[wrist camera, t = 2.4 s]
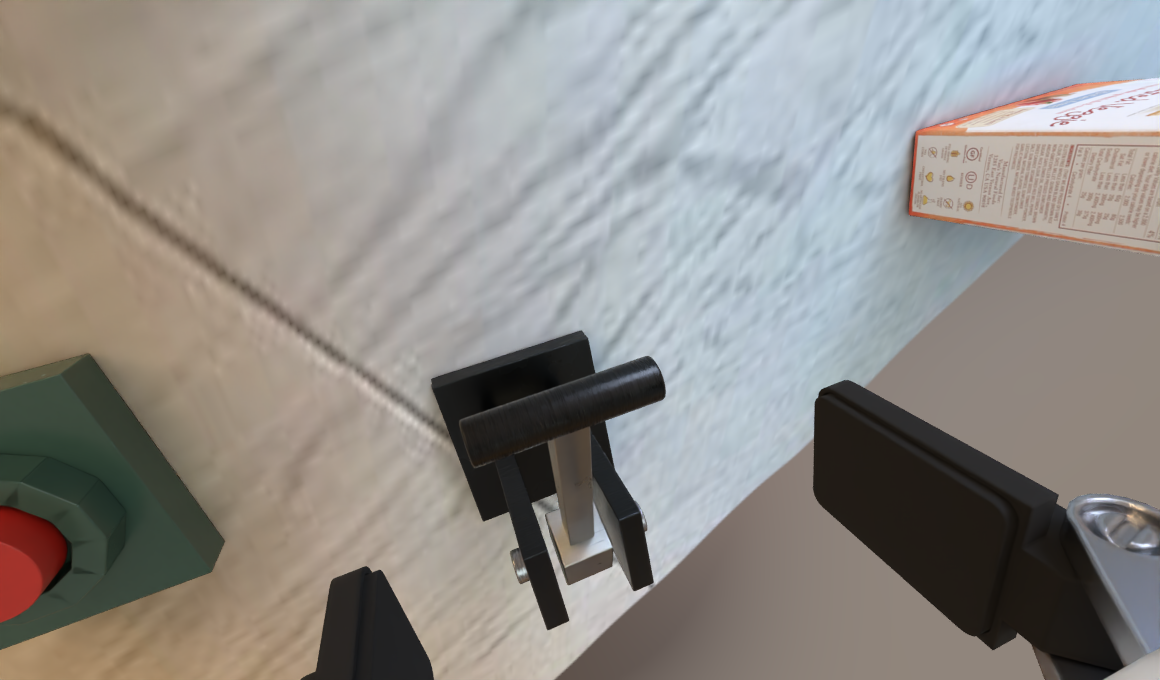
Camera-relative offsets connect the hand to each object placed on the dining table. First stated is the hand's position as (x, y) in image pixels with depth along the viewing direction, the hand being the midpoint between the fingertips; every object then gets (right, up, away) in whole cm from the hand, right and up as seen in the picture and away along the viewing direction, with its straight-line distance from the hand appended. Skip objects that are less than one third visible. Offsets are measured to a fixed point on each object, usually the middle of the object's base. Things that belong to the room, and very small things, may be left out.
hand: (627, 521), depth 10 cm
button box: (-26, -4, +14) cm, 30 cm away
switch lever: (-2, -1, +9) cm, 9 cm away
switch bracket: (-4, -2, +21) cm, 21 cm away
